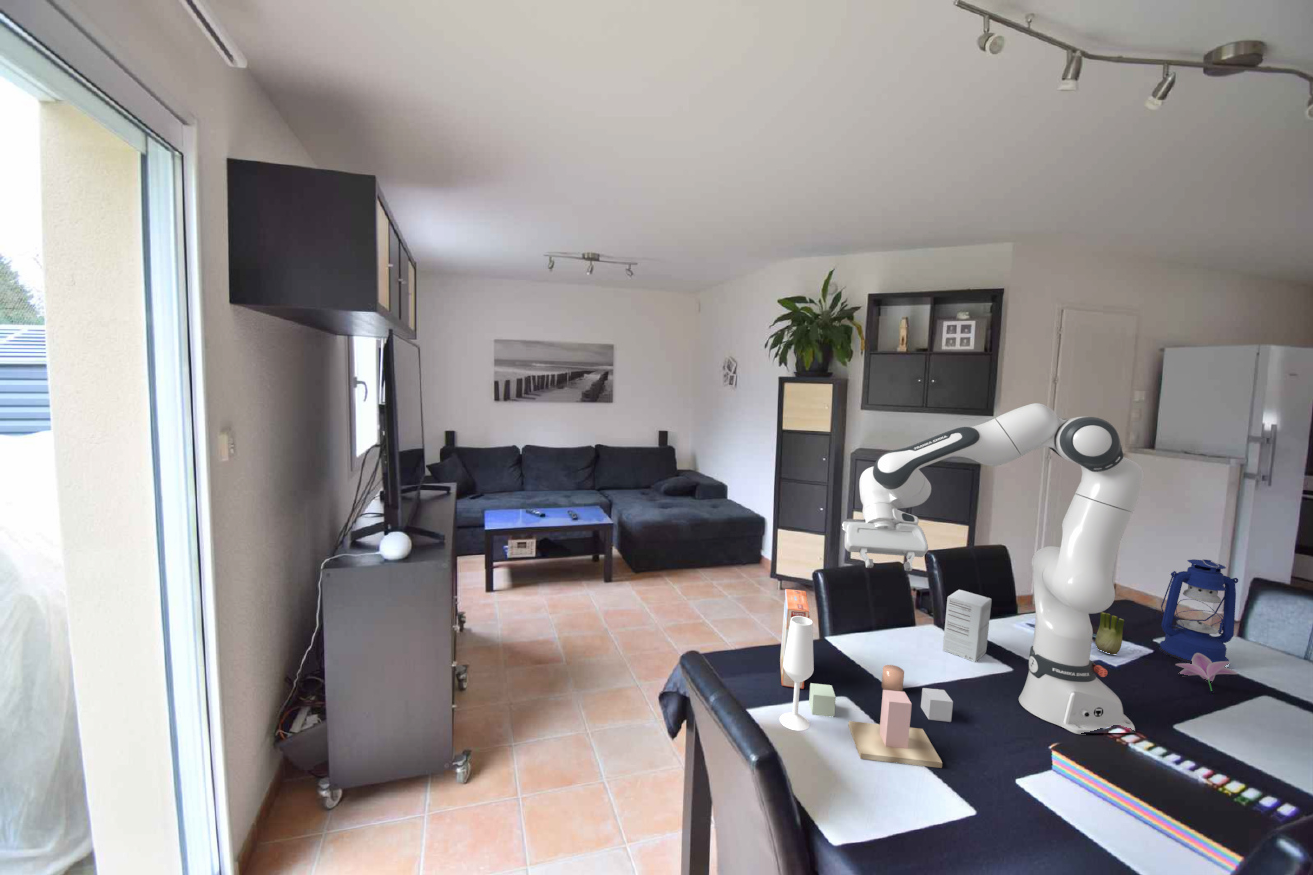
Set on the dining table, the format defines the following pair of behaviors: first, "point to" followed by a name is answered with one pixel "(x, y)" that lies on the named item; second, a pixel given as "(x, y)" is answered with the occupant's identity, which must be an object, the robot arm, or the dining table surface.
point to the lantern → (1205, 588)
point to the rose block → (895, 719)
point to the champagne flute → (798, 666)
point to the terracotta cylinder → (892, 678)
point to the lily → (1205, 668)
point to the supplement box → (967, 624)
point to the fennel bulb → (1109, 634)
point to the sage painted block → (822, 700)
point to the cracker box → (792, 607)
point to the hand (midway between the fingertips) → (889, 568)
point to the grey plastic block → (936, 704)
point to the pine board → (875, 748)
